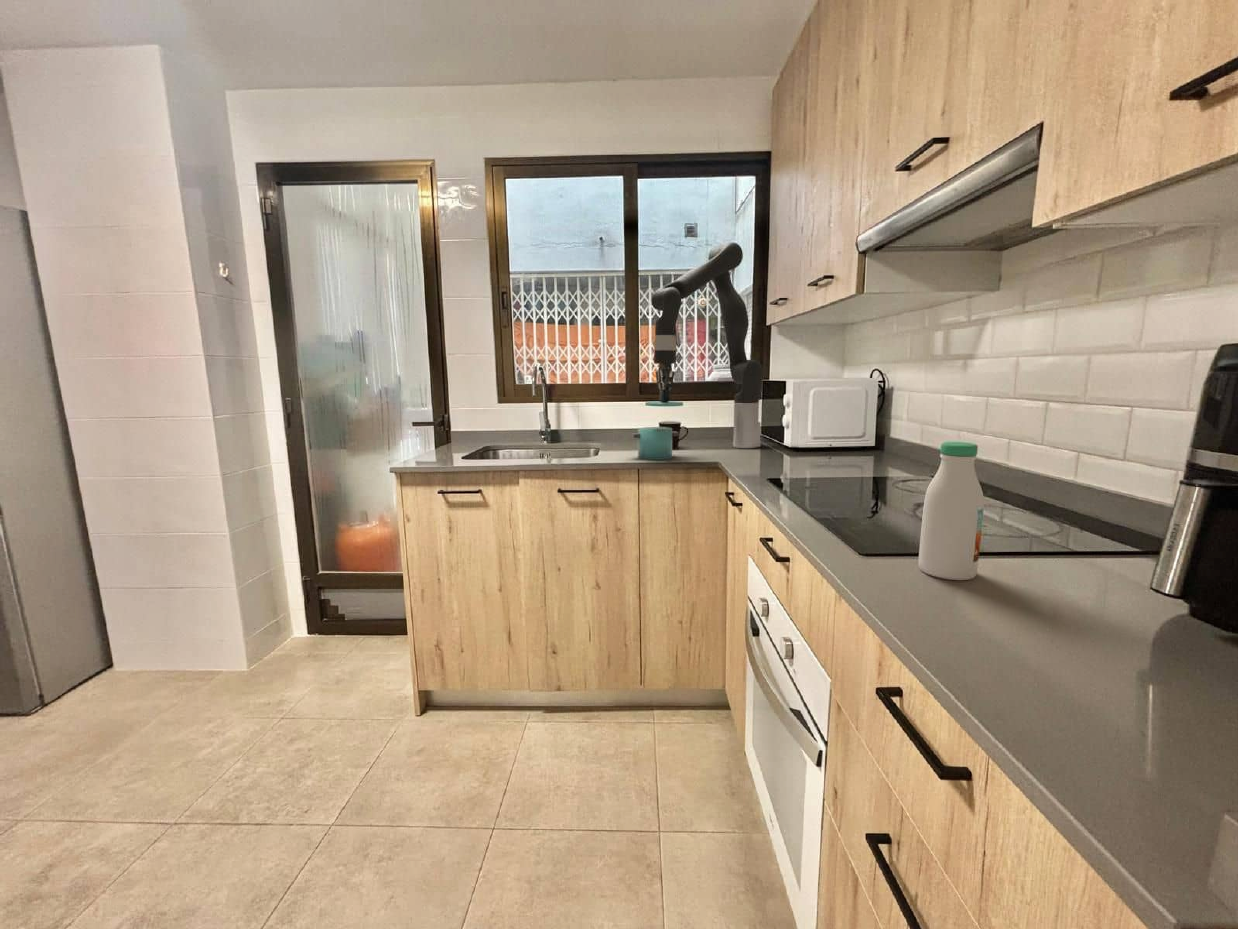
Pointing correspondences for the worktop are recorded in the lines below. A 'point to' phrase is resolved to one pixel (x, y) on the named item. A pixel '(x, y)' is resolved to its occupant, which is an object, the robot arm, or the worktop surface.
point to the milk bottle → (952, 516)
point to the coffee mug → (675, 427)
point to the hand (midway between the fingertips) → (664, 400)
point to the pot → (655, 442)
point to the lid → (663, 403)
